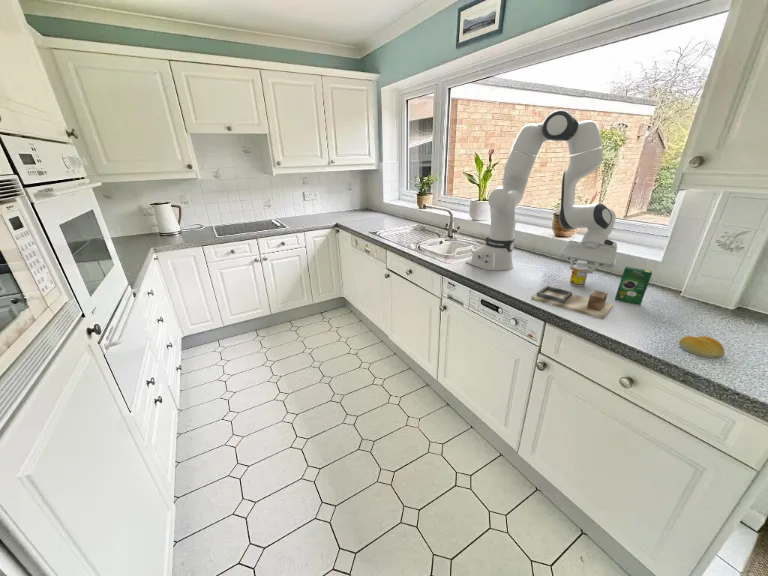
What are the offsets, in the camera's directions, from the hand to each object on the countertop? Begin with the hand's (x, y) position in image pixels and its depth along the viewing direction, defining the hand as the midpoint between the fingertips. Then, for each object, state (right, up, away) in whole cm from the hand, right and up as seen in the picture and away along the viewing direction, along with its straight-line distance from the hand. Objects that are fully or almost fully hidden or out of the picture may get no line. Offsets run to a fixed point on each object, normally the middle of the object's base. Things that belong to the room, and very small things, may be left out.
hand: (580, 270), depth 133 cm
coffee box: (+9, -13, -15) cm, 21 cm away
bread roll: (+7, -25, -43) cm, 51 cm away
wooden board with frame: (-13, -13, -14) cm, 23 cm away
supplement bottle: (-1, -6, +2) cm, 6 cm away
